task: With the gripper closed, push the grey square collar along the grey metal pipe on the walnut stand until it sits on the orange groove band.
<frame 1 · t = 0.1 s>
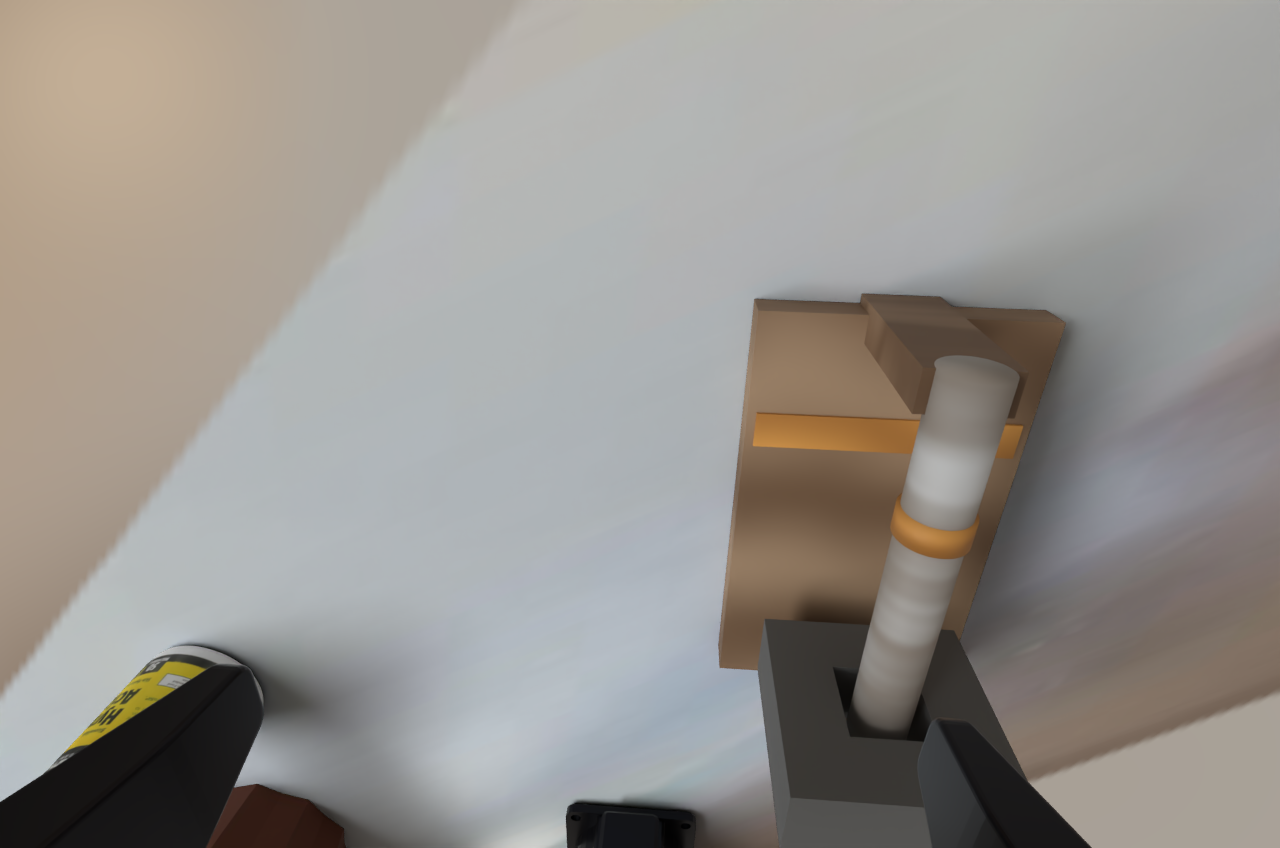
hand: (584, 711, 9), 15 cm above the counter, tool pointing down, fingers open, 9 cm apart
muffin: (273, 831, 37), on the counter
supplement bottle: (212, 679, 31), on the counter
grey square collar: (876, 728, 21), point 6 cm above the counter, slide at -4.5 cm
pipe stand: (857, 503, 24), on the counter
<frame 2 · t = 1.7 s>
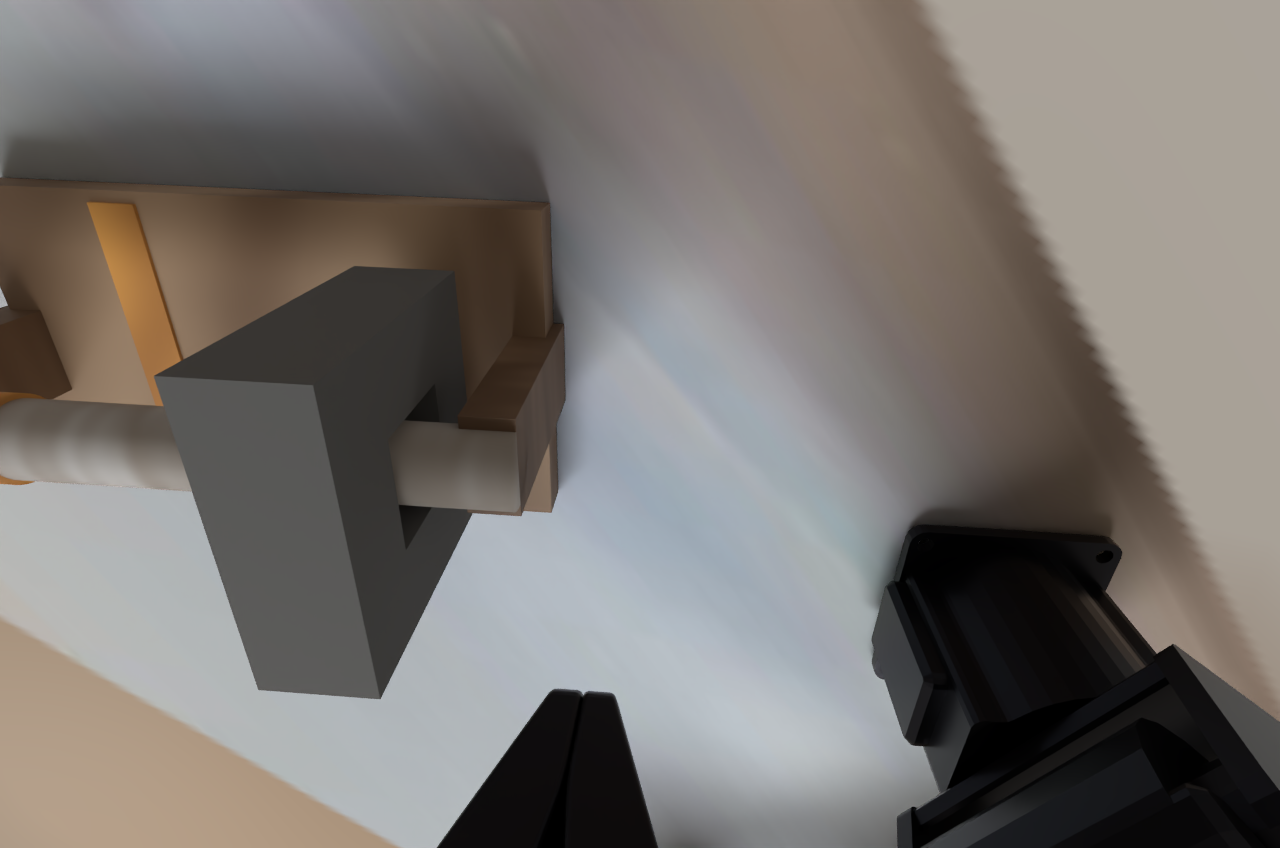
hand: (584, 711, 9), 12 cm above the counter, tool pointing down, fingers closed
grey square collar: (365, 460, 14), point 6 cm above the counter, slide at -4.5 cm
pipe stand: (304, 348, 20), on the counter
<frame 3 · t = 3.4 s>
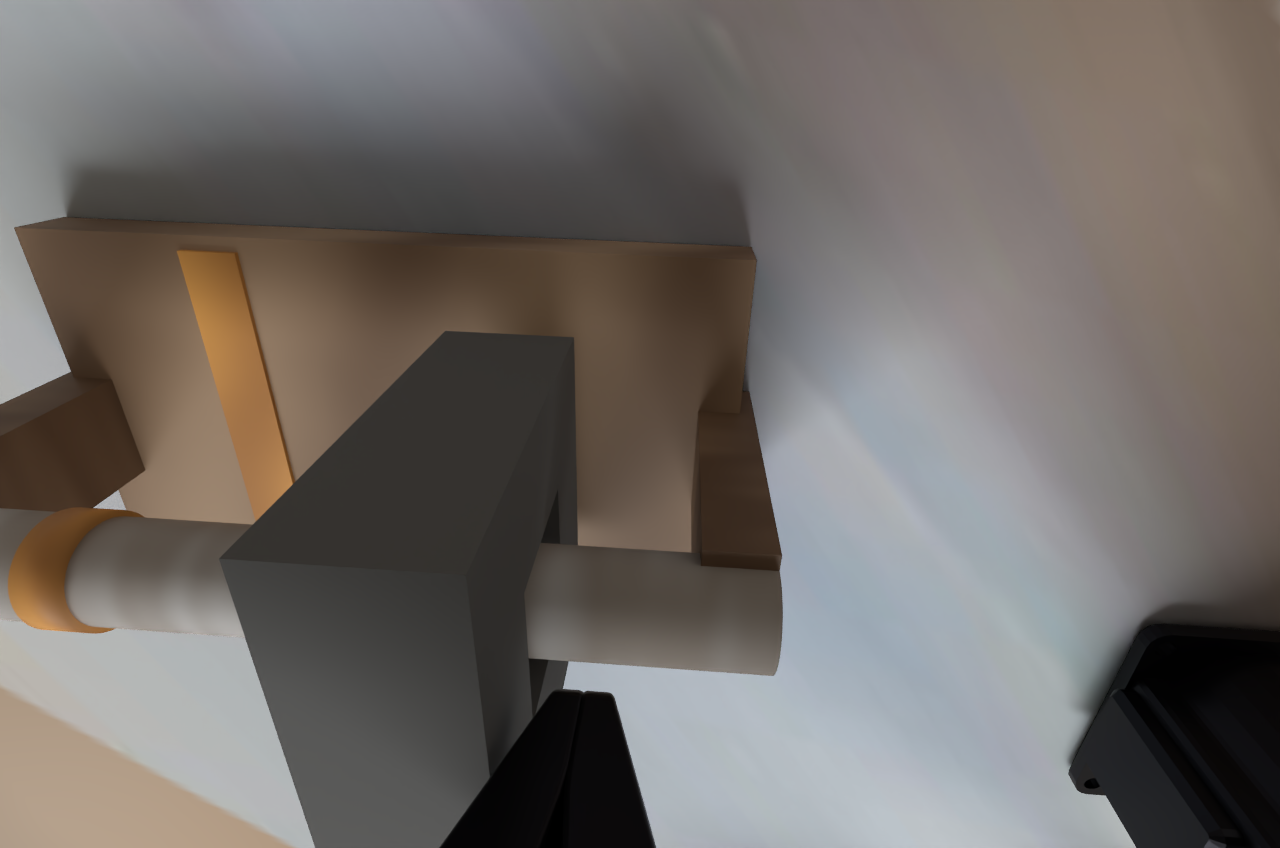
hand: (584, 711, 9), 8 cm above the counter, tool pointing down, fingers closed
grey square collar: (473, 595, 11), point 6 cm above the counter, slide at -3.0 cm, touching gripper
pipe stand: (424, 419, 16), on the counter
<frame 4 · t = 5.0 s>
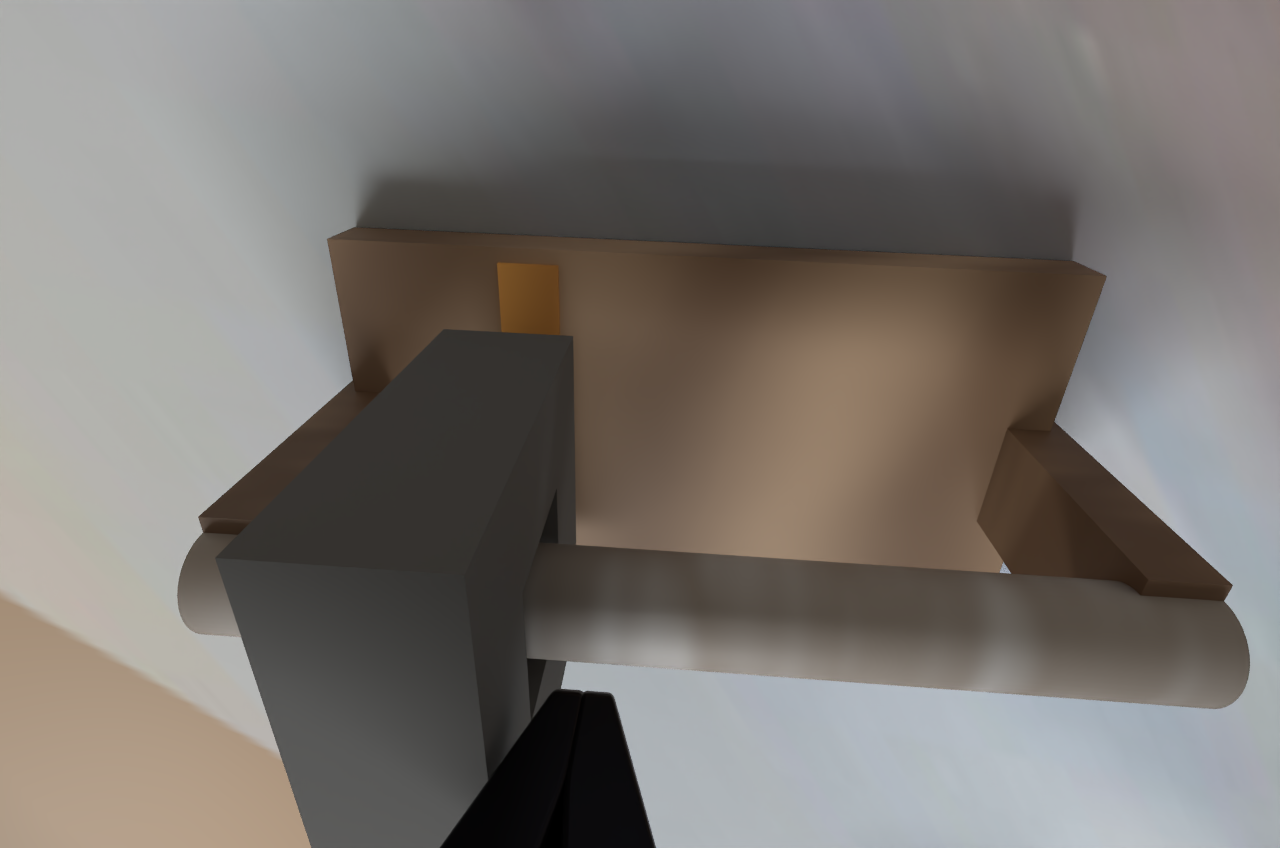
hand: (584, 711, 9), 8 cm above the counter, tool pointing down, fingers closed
grey square collar: (470, 594, 11), point 6 cm above the counter, slide at 3.6 cm, touching gripper
pipe stand: (691, 433, 16), on the counter
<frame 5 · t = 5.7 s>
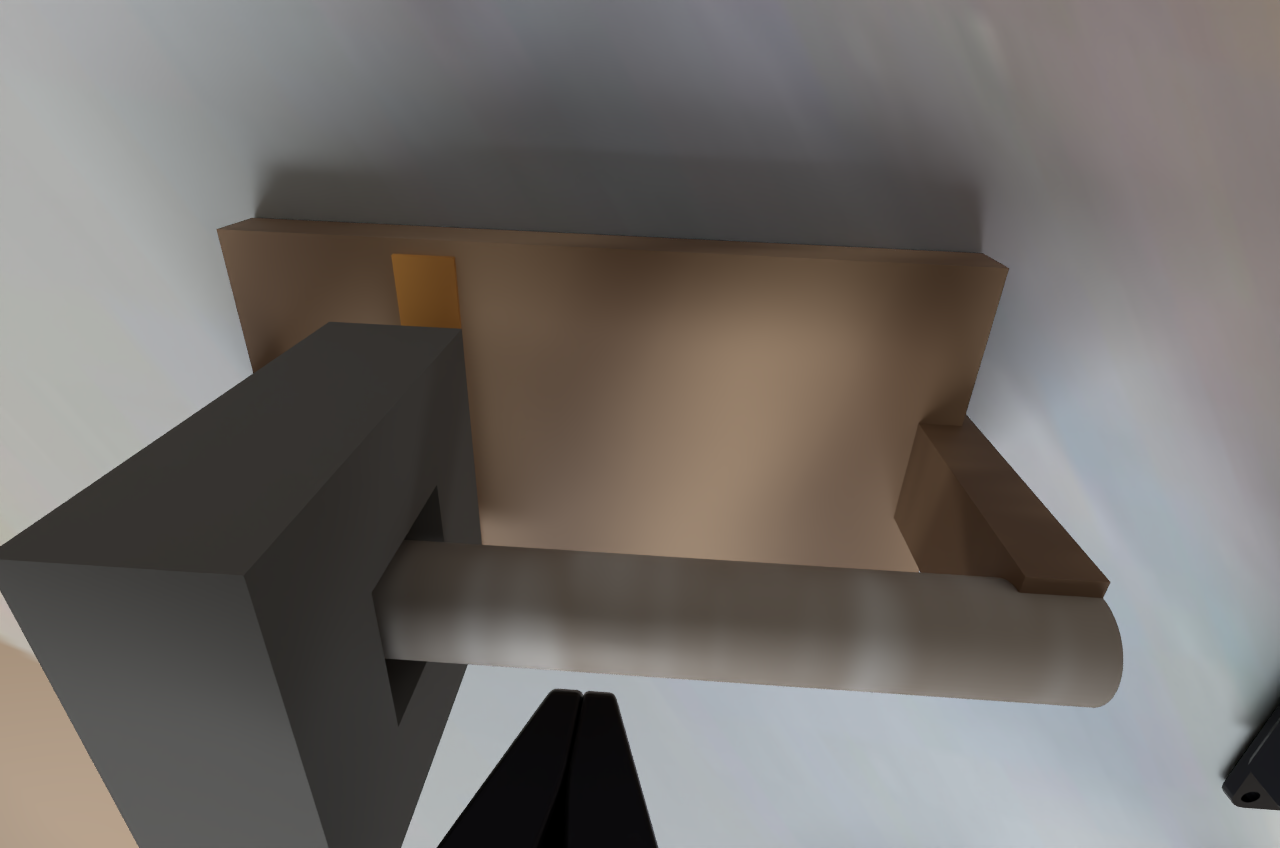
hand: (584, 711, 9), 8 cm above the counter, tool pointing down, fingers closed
grey square collar: (343, 594, 10), point 6 cm above the counter, slide at 3.6 cm
pipe stand: (608, 429, 16), on the counter
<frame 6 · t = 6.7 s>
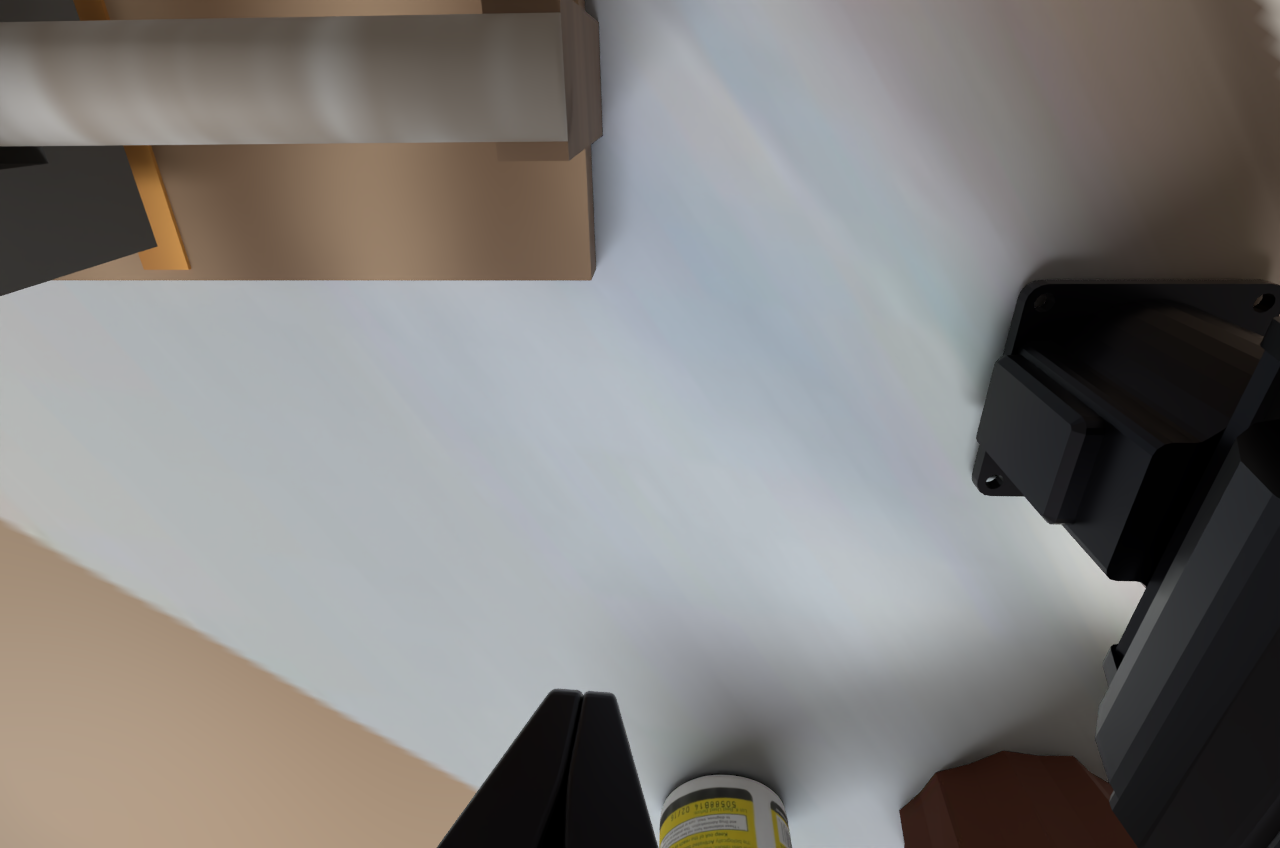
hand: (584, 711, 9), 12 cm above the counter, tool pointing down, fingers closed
muffin: (1003, 814, 28), on the counter
supplement bottle: (722, 805, 29), on the counter
pipe stand: (282, 85, 16), on the counter
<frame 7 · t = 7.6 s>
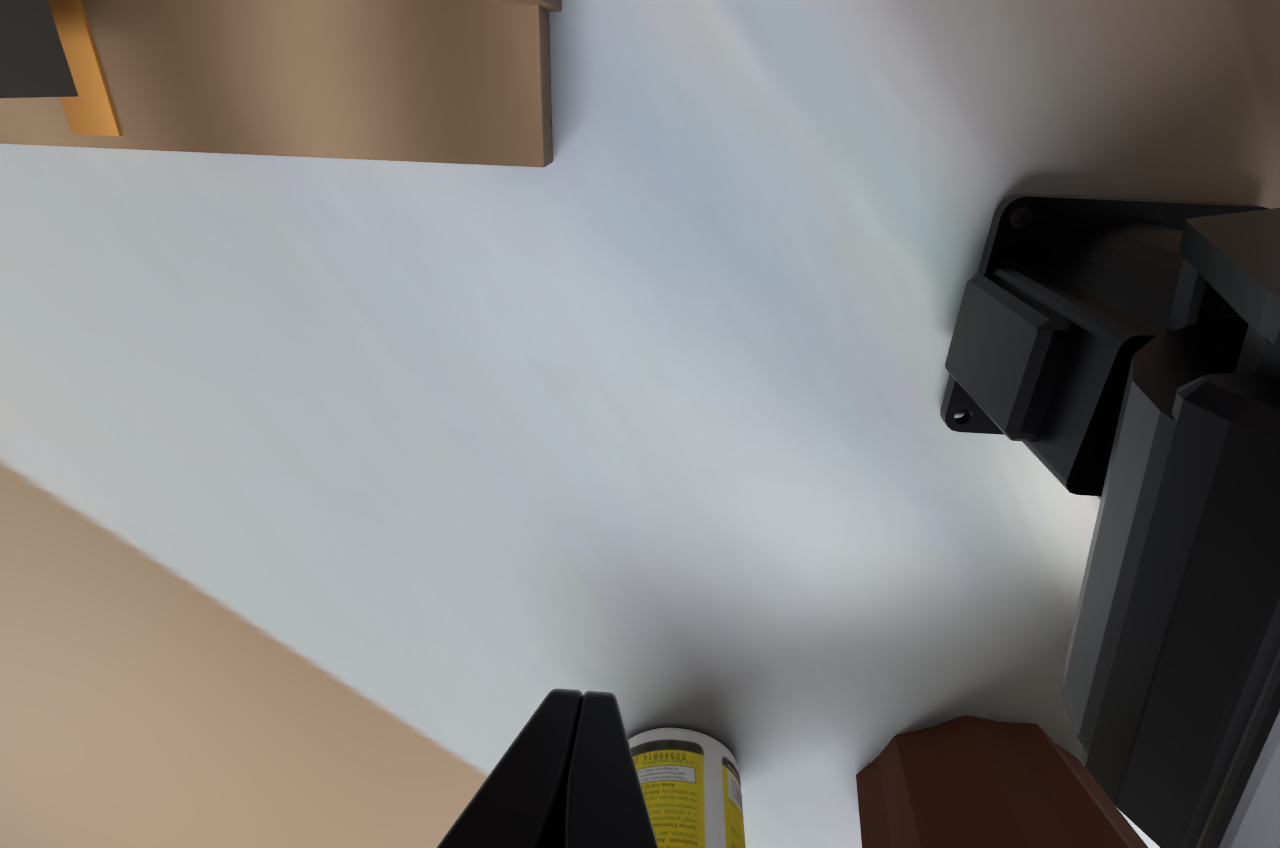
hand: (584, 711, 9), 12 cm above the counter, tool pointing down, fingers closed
muffin: (963, 784, 27), on the counter
supplement bottle: (674, 761, 28), on the counter
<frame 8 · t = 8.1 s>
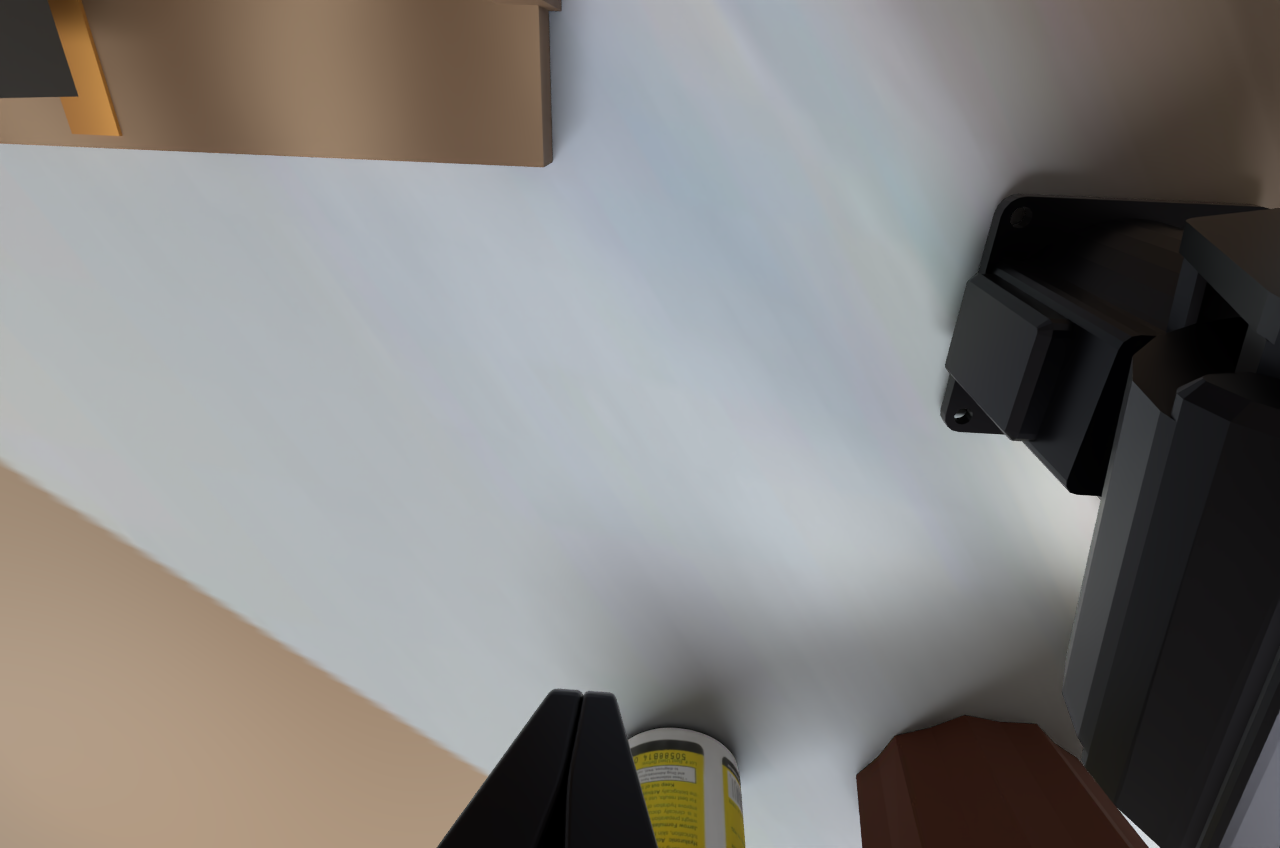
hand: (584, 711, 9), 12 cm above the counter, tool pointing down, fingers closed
muffin: (963, 784, 27), on the counter
supplement bottle: (674, 761, 28), on the counter
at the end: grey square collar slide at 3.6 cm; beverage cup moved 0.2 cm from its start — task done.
